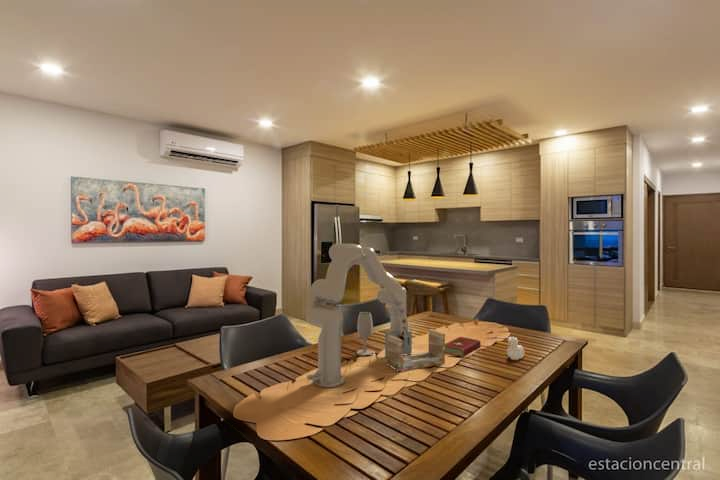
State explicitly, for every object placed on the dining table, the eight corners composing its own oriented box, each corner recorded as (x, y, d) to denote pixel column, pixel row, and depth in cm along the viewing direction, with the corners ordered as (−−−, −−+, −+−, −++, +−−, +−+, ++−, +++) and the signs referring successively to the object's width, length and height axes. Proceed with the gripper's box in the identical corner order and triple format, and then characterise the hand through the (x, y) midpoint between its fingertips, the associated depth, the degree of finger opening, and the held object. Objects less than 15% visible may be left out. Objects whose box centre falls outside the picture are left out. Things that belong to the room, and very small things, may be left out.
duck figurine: (521, 359, 191) (509, 339, 196) (532, 353, 186) (520, 332, 191) (507, 364, 184) (495, 342, 190) (518, 358, 179) (505, 336, 185)
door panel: (388, 358, 186) (388, 334, 186) (384, 356, 189) (384, 332, 189) (411, 354, 192) (412, 331, 192) (408, 352, 195) (408, 329, 195)
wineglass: (373, 356, 189) (373, 315, 188) (356, 356, 189) (356, 315, 188) (373, 351, 197) (373, 311, 197) (356, 350, 198) (356, 311, 197)
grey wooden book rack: (399, 371, 168) (399, 341, 168) (387, 364, 177) (387, 335, 177) (444, 362, 180) (444, 333, 180) (431, 356, 189) (431, 328, 189)
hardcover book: (480, 347, 205) (480, 339, 205) (463, 357, 189) (463, 349, 189) (460, 343, 213) (460, 335, 213) (442, 352, 197) (442, 344, 197)
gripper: (414, 313, 184) (414, 350, 185) (396, 307, 199) (396, 342, 200) (401, 315, 181) (401, 353, 182) (384, 309, 196) (384, 344, 196)
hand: (398, 347), depth 191 cm, fingers closed on door panel, 3 cm apart
